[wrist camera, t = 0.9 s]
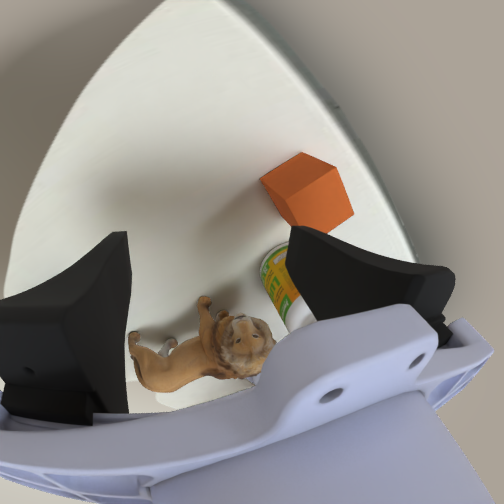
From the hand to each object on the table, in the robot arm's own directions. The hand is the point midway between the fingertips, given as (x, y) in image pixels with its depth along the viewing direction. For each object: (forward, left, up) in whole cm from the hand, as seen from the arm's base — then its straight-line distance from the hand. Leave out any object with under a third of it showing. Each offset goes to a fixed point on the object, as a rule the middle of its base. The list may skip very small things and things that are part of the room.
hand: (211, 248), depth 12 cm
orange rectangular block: (-4, -6, -9) cm, 12 cm away
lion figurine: (-10, +8, -10) cm, 16 cm away
